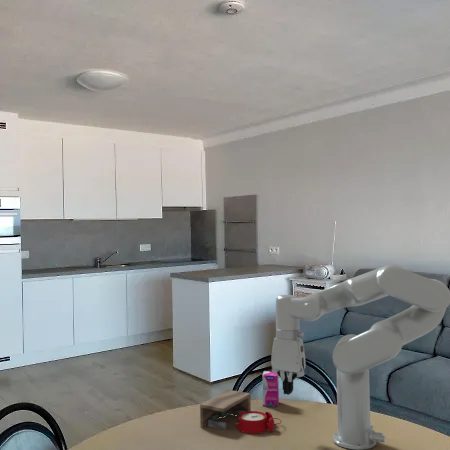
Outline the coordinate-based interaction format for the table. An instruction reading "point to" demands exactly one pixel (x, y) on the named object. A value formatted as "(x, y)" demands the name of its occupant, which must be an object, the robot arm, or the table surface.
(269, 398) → the supplement box
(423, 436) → the table surface
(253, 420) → the alarm clock
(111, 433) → the table surface
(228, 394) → the overhang shelf
